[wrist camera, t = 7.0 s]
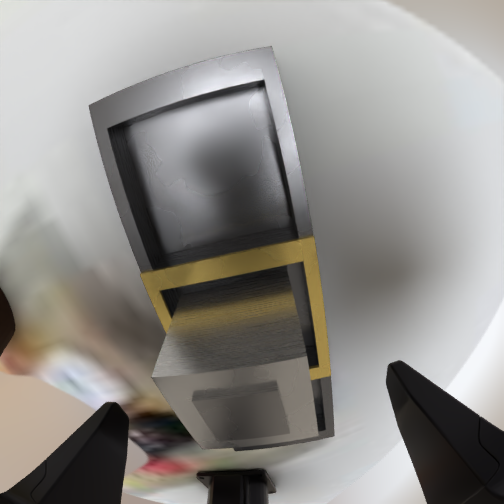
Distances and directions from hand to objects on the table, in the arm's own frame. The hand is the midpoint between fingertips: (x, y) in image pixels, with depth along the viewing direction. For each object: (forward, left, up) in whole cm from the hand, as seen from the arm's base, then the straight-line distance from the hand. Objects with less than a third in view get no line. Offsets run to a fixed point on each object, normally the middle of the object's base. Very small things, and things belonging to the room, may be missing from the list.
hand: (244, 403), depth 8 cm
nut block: (0, 0, -5) cm, 5 cm away
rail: (0, 0, -6) cm, 6 cm away
